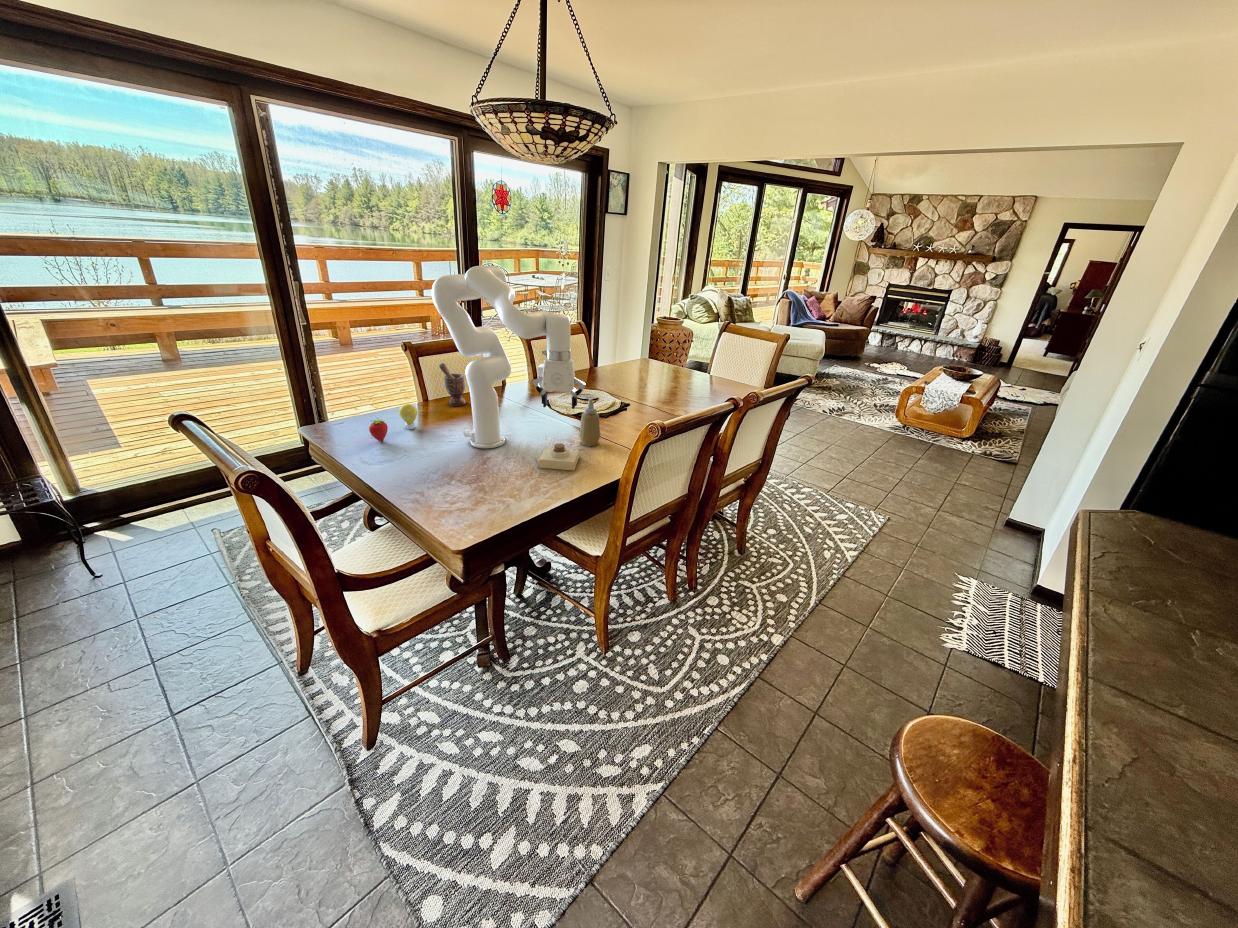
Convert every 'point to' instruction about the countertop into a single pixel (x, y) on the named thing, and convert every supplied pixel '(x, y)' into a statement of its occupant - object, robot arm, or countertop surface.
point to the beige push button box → (559, 459)
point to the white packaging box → (540, 374)
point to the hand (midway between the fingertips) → (559, 406)
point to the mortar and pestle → (454, 386)
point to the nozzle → (559, 447)
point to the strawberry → (378, 429)
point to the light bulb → (408, 414)
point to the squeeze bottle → (590, 425)
